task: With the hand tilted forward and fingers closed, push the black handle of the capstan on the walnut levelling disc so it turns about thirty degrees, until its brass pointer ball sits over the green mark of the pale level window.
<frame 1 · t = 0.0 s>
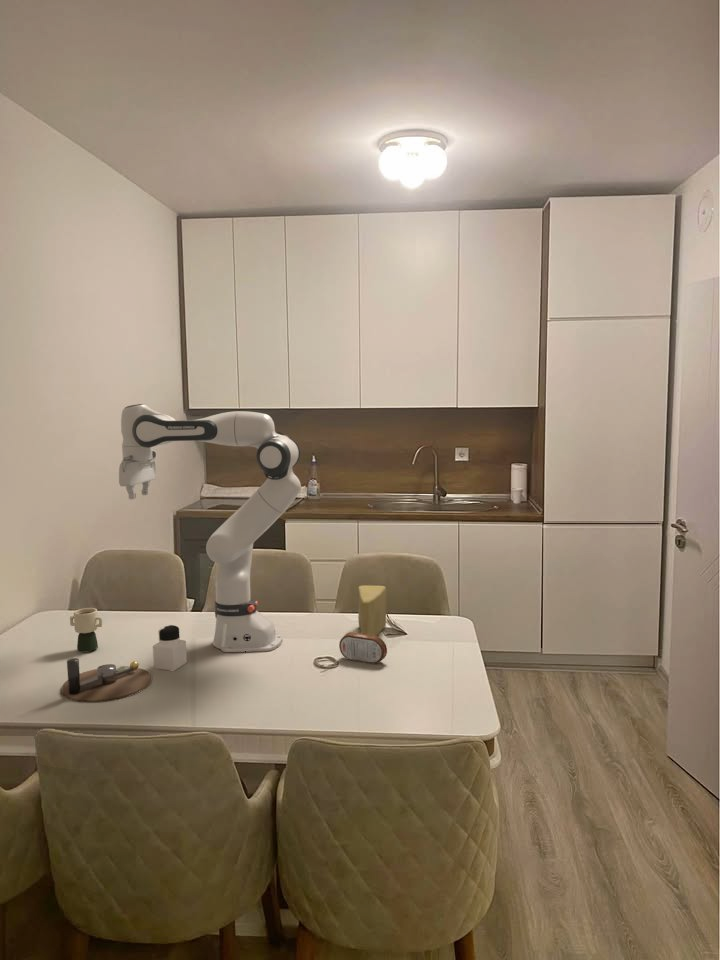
hand: (138, 497, 243), 48 cm above the table, tool pointing down, fingers open, 8 cm apart
tin: (362, 662, 226), on the table
capstan: (104, 666, 210), point 6 cm above the table, hinge at 0.0°
cheese: (369, 637, 249), on the table
medicine bottle: (170, 666, 225), on the table
stand: (107, 684, 211), on the table
character mug: (87, 651, 239), on the table
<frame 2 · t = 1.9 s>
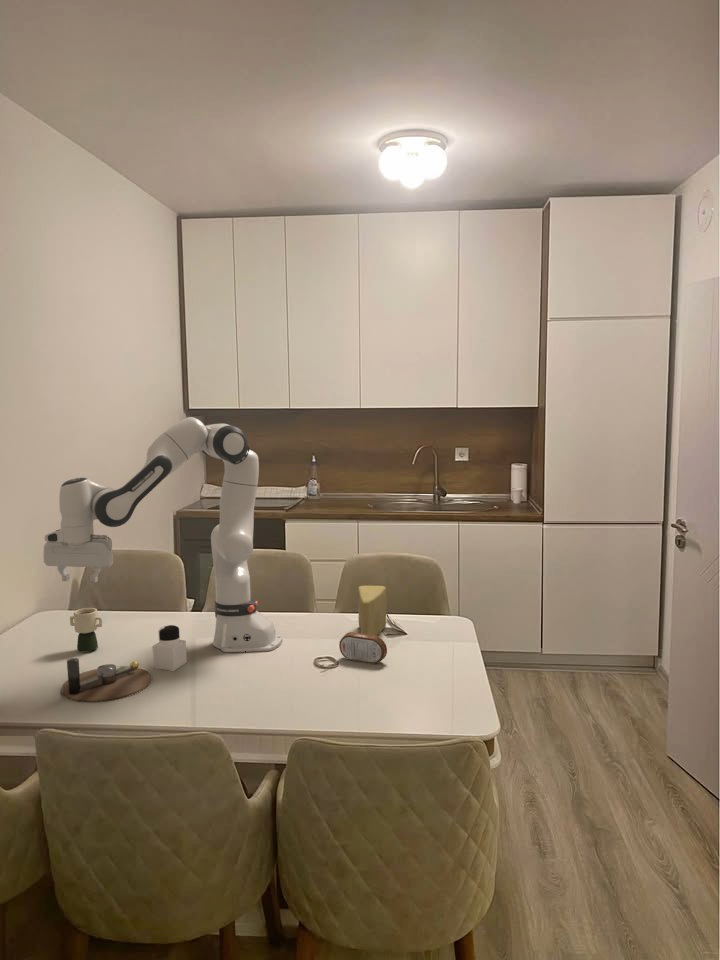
hand: (80, 581, 217), 27 cm above the table, tool pointing down, fingers open, 7 cm apart
nothing on the table moved.
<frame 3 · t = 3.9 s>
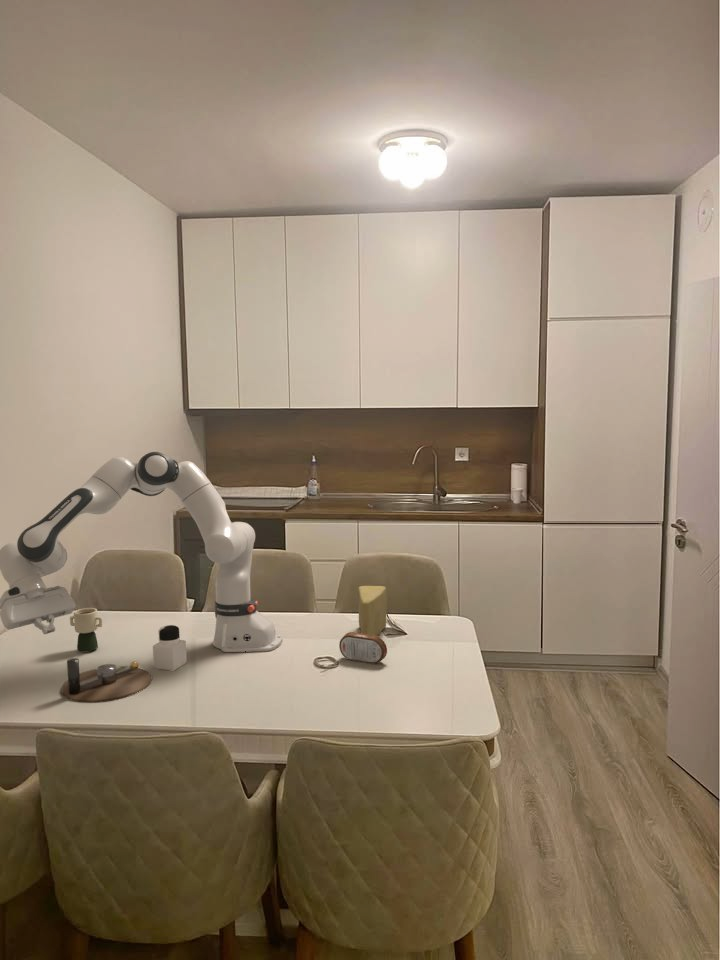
hand: (49, 632, 209), 15 cm above the table, tool tilted 45°, fingers closed
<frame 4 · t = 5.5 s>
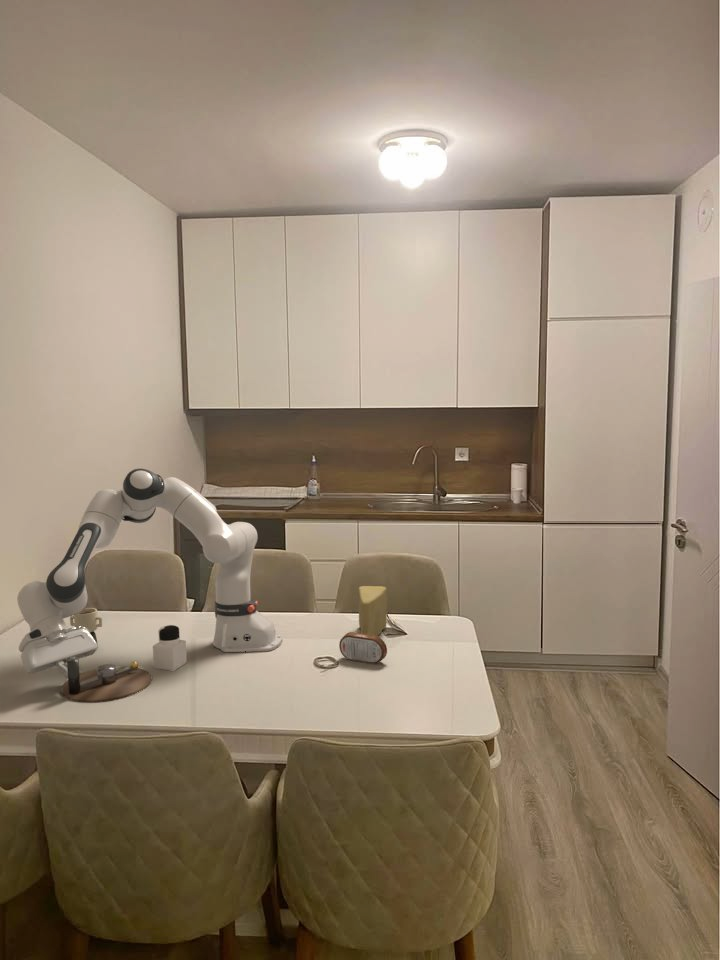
hand: (72, 675, 204), 5 cm above the table, tool tilted 45°, fingers closed, pressing on capstan
capstan: (104, 666, 210), point 6 cm above the table, hinge at 0.0°, touching gripper
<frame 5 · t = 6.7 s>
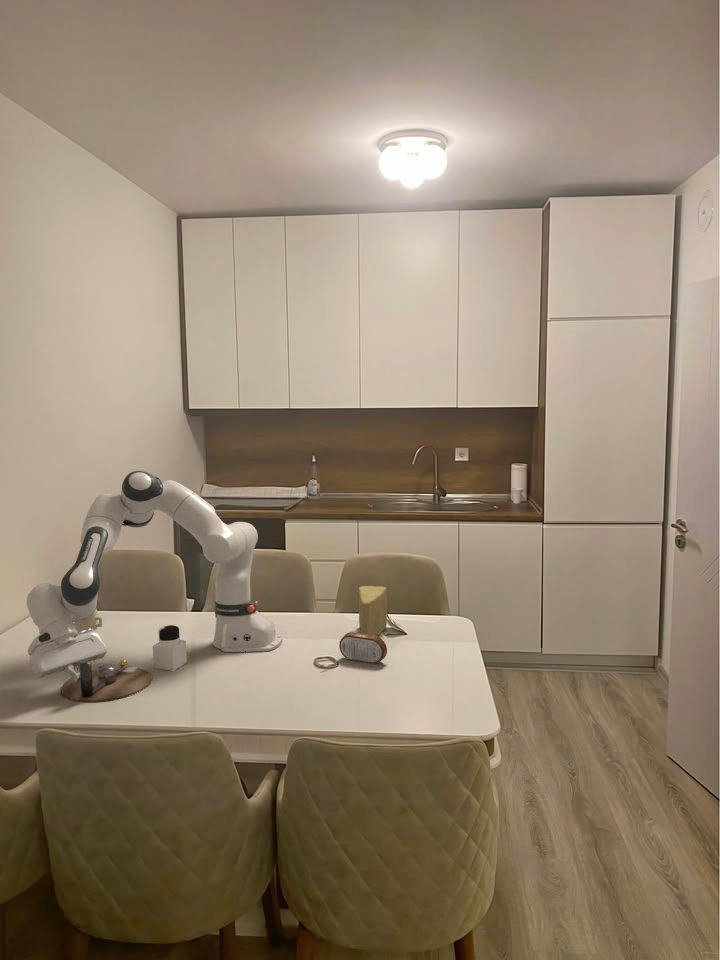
hand: (81, 679, 202), 5 cm above the table, tool tilted 45°, fingers closed, pressing on capstan
capstan: (104, 666, 210), point 6 cm above the table, hinge at 26.5°, touching gripper
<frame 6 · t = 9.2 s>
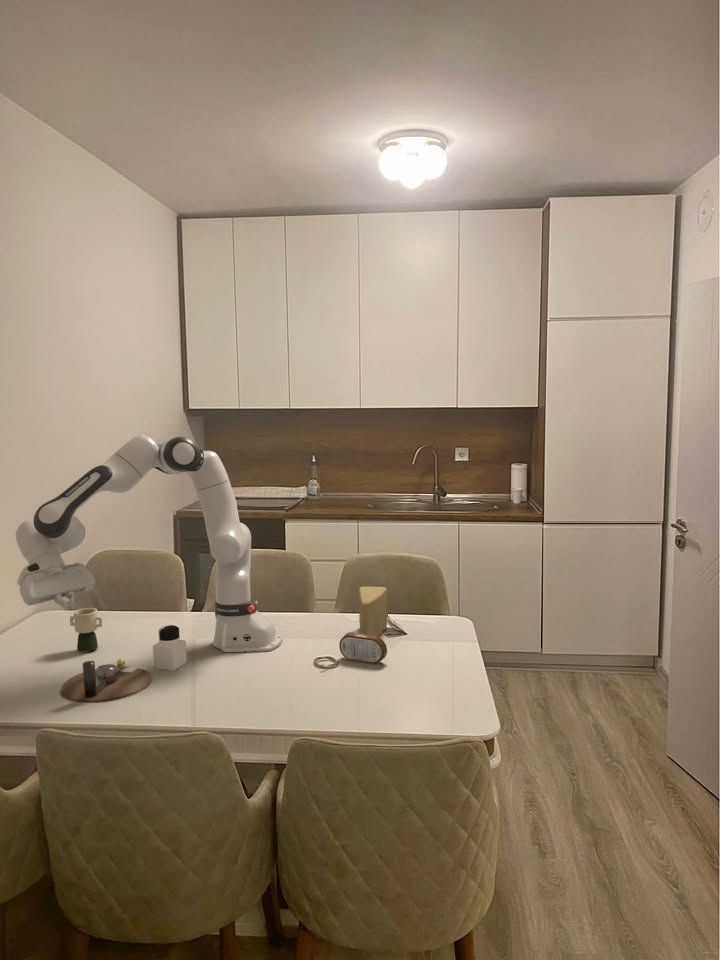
hand: (70, 608, 207), 23 cm above the table, tool tilted 45°, fingers closed
capstan: (105, 666, 210), point 6 cm above the table, hinge at 31.8°
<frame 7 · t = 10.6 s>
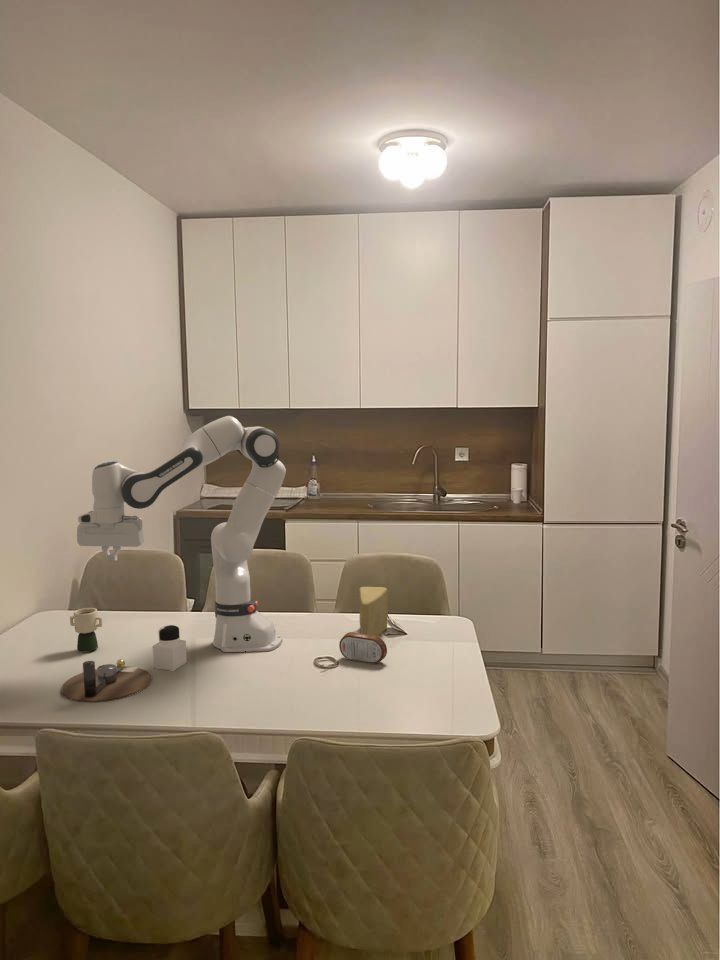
hand: (111, 560, 228), 31 cm above the table, tool pointing down, fingers closed
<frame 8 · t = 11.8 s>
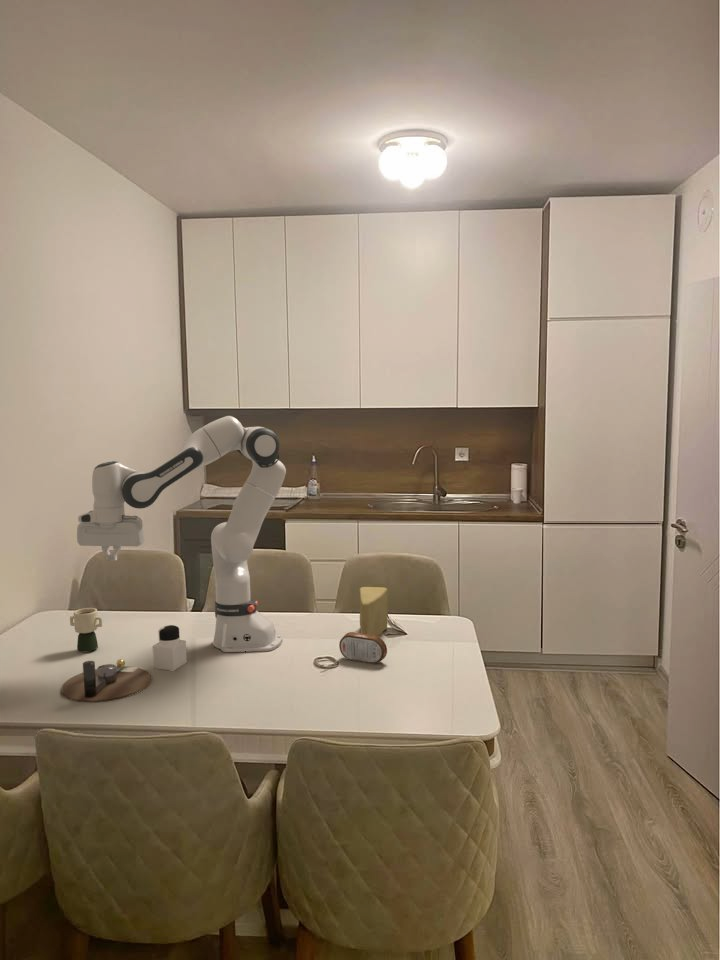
hand: (111, 560, 228), 31 cm above the table, tool pointing down, fingers closed
at the end: capstan at +32° (first picture: +0°); capstan touching nothing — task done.
